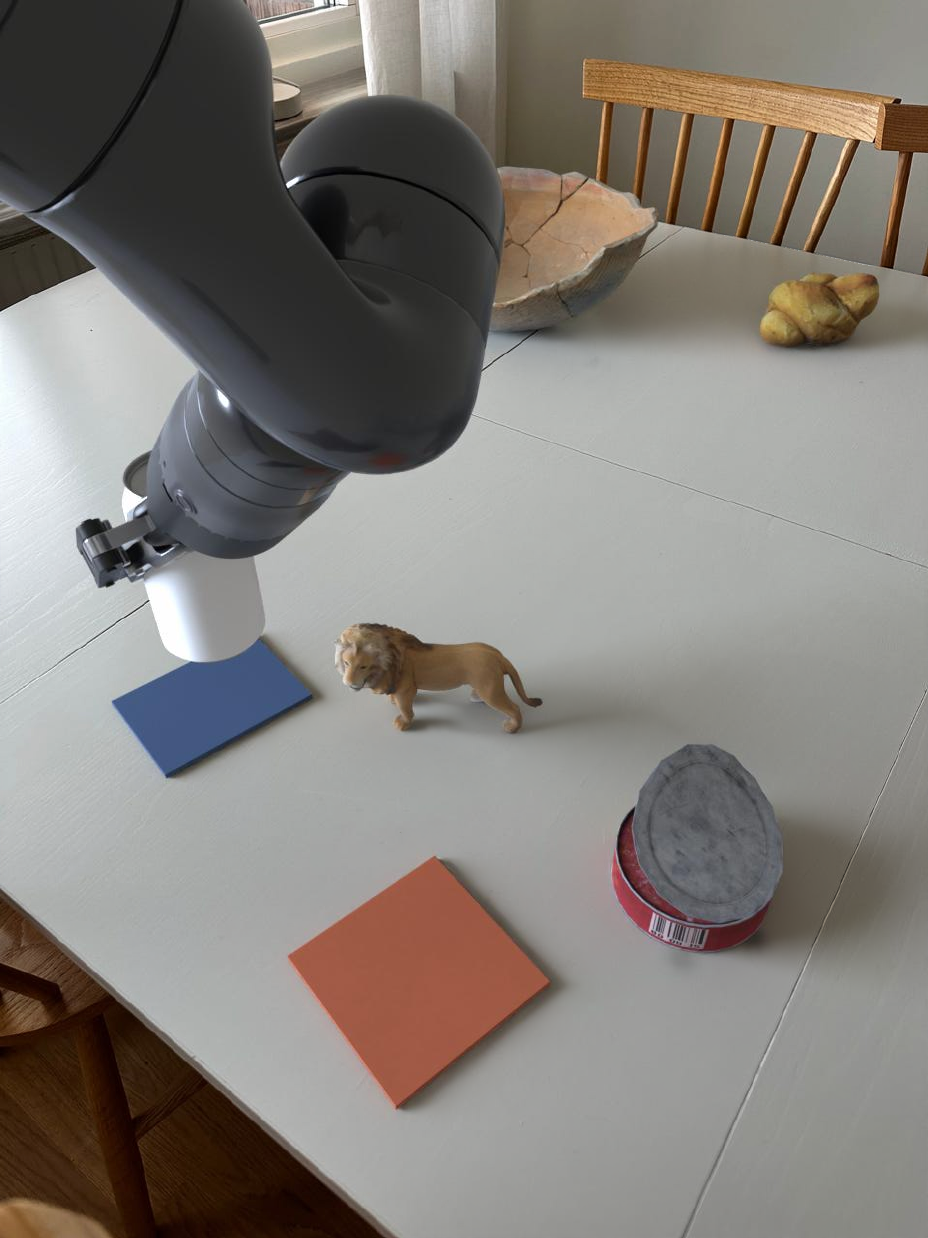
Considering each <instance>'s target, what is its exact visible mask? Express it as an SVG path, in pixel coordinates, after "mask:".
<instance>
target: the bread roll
mask: <svg viewBox="0 0 928 1238" xmlns="http://www.w3.org/2000/svg"><path fill="white" fill-rule="evenodd" d="M879 298H880V285H879V282H878V278H877V277H876V276H875V275H874V274H870V273H863V272H860V273H859V272H858V273H850V274H845V275H841V276H839V277H838V276H836V275H834V274H832V273H819V272H817V273H815V272H813V271H812V272H810V273H808V274H807V275H806V276H804V277H803V278H801V279H799V280H798V279H797V280H796V279H789V280H786V281H784V282H782V283H780V284H777V285H776V286H775V287H774V288H773V289H772V290H771V292H770V294H769V296H768V306H767V308H766V309H765V314H764V316H763V317H761V322H760V325H759V328H758V329H759V333H760V337H761V338H762V339H763V341H764V342H766V343H767V344H769V345H772V346H775V347H779V348H786V349H789V348H790V349H791V348H796V347H800V346H802V345H805V344H808V345H811V346H833V345H834V346H835V345H837V344H840V343H842V342H845V341H847V340H848V339H850V338H851V337H852V336H853V335H854V333H855V331H856V329H857V327H858V326H859V325H860V324H861V322H862V320H864V319H866V318H867V317H869V316H871V314H872V313H873V312H874V310H875V309H876V307H877V305H878V302H879Z"/></svg>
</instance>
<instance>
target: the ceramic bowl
mask: <svg viewBox="0 0 928 1238" xmlns="http://www.w3.org/2000/svg"><path fill="white" fill-rule="evenodd" d="M496 168H497V170H498V173H499V177H500V180H501V184H502V188H503V193H504V198H505V206H506V230H505V240H504V247H503V253H502V258H501V264H500V270H499V274H498V279H497V286H496V292H495V298H494V303H493V309H492V315H491V321H490V327H489V331H494V332H500V333H512V332H522V331H529V330H541V329H544V328H547V327H553V326H556V325H560V324H562V323H565V322H568V321H570V320H571V319H573V318H576V317H578V316H581V315H583V314H584V313H587V312H588V311H589V310H591V309H593V308H595V307H597V306H598V305H599V304H600V303H602V302H604V301H605V300H606V299H607V298H608V297H610V296H611V295H612V294H613V293H614V292H615V291H616V290H617V289H618V288H619V287H620V286H621V285H622V284H623V283H624V282H625V280H626V279H627V277H628V275H629V274H630V273H631V271H632V270H633V268H634V266H635V265H636V263H637V262H638V260H639V259H640V256H641V255H642V251H643V249H644V247H645V245H646V243H647V239H648V237H649V236H650V235H651V234H652V233H653V232H654V231H655V230H656V229H657V228H658V225H659V222H658V218H659V216H660V212H659V210H658V209H657V208H656V207H653V206H652V207H647V208H645V207H643V206H642V204H641V201H640V199H639V198H638V197H637V196H636V195H635V194H634V193H632V192H627V191H626V192H625V191H624V192H623V191H620V190H617V189H615V188H614V187H611V186H609V185H607V184H606V183H603V182H601V181H599V180H598V179H594V178H591V177H589V176H587V175H585V174H584V173H581V172H578V171H572V172H571V171H570V172H566V173H563V174H558V173H555V172H554V171H551V170H549V169H542V168H534V167H533V168H532V167H520V166H519V167H517V166H500V167H496Z"/></svg>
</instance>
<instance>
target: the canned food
mask: <svg viewBox="0 0 928 1238" xmlns="http://www.w3.org/2000/svg"><path fill="white" fill-rule="evenodd" d="M783 837H784V836H783V835H782V833H781V829H780V827H779V825H778V822H777V818H776V814H775V811H774V807H773V804H772V803H771V801H770V800H769V799H768V797H767V796H766V795H765V793H764V792H763V790H762V787H761V786H760V784H759V782H758V780H757V779H756V777H755V776H754V775H753V774H752V773H751V772H749V770H748V769H746V768H745V766H744V765H742V763H741V762H740V761H739V759H738V758H737V757H736V756H735V755H734V754H732V753H730V752H728V751H726V750H724V749H722V748H720V747H718V746H716V745H715V744H712V743H700V744H698V743H686V744H685V745H683V746H681V747H680V748H678V749H677V750H676V751H674V752H672V753H671V754H669V755H667V756H666V757H664V758H663V759H661V760H659V762H658V764H656V766H655V767H654V769H653V770H652V771H651V773H650V775H649V776H648V777H647V779H646V780H645V781H644V784H643V785H642V786H641V788H640V789H639V791H638V795H637V800H636V804H634V806H633V807H632V808H630V809H629V811H628V812H627V813H626V814H625V816H624V817H623V819H622V821H620V824H619V826H618V830H617V832H616V835H615V845H614V851H613V858H612V861H611V869H610V871H611V872H610V877H611V883H612V890H613V892H614V895H615V898H616V899H617V903H618V904H619V906H620V907H621V909H622V910H623V912H624V913H625V915H626V917H627V918H628V919H629V920H630V921H631V922H632V923H633V924H634V925H635V926H636V927H637V928H638V929H639V930H640V931H642V932H643V933H645V934H646V935H647V936H648V937H650V938H652V939H653V940H655V941H657V942H659V943H661V944H663V945H665V946H668V947H671V948H674V949H677V950H680V951H684V952H692V953H717V952H720V951H726V950H729V949H731V948H734V947H736V946H738V945H741V944H742V943H744V942H746V941H747V940H748V939H749V938H751V937H752V936H753V935H755V933H756V932H757V931H758V930H759V929H760V927H761V926H762V925H763V924H764V921H765V919H766V916H767V915H768V913H769V909H770V905H771V903H772V901H773V898H774V895H775V892H776V890H777V888H778V885H779V881H780V879H781V876H782V874H783V872H784V858H783V857H784V856H783V853H784V851H783V849H784V848H783V847H784V838H783Z"/></svg>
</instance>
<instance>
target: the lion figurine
mask: <svg viewBox="0 0 928 1238" xmlns="http://www.w3.org/2000/svg"><path fill="white" fill-rule="evenodd" d="M334 645H335V654H334V660H335V661H334V666H335V667H334V668H336V669H337V671H338V672H339V673H340V675H341V676H343V678H342V683H343V684H344V685H345V686H348V688H349V689H350V691H352V692H355V693H357V692H360V691H361V690H362V689H364V690H365V689H368V690H369V691H370V692H371V693H373V694H375V695H386V696H388V698H389V699H388V700H389V702H390V703H391V704H394V705H395V704H396V706H397V707H396V708H397V709H398V710H399V712H400V715H397V716H395V718H394V720H393V722H392V724H393V726H394V727H395V729H397V730H399V732H403V731H406V730H407V729H409V728H410V727H411V725H412V724H413V721H414V718H415V713H414V709H413V708H414V707H413V705H414V701H415V699H416V697H417V695H418V690H421V691H429V692H444V691H445V692H446V691H452V690H456V689H459V688H461V687H462V686H464V685H468V686H470V687H471V688H472V691H471V692H470V695H469V697H470V701H472V702H474V703H483V702H484V703H485V704H486V705H488V706H489V707H490V708H492V709H494V710H496V711H498V712H500V713H501V714H503V715H505V716H507V717H508V718H507V719H505V720H504V721H503V723H502V727H503V728H504V730H505V731H506V732H507V733H509V734H515V733H517V732H519V731H520V730H521V728H522V724H523V715H522V711H521V708H520V705H518V704H517V703H516V702H514V701H512V699H510V697H509V695H508V693H507V692H506V689H505V676H506V675H507V676H508V677H509V678H510V681H511V683H512V685H513V687H514V689H515V692H516V694H517V696H518V698H519V699H520V701H521V702H522V703H524V704H525V705H526V706H528V707H531V708H534V709H535V708H538V707H540V706H542V705H543V704H544V701H543V699H542V698H540V697H528V696H527V693H526V691H525V689H524V685H523V682H522V679H521V677H520V675H519V673H518V671H517V669H516V668H515V666H514V665H513V663H512V662H511V661H510V660H509V659H508V658H507V657H506V656H504V655H503V653H502V651H500V650H499V649H497V648H496V647H494V646H493V645H490V644H488V643H484V642H481V641H475V642H474V641H473V642H467V643H455V644H449V643H447V644H443V643H430V642H422V641H421V640H420V639H419V638H418V637H416V635H414V634H411V633H408V632H407V631H406V630H402V629H401V628H398V627H393V626H388V624H386V623H383V624H380V623H378V622H374V623H370V622H361V623H355V624H353V625H350V626H349V627H347V628H346V629H344V630H343V632H342V633H341V634H340V637H339V638H336V639H335V640H334Z"/></svg>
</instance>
